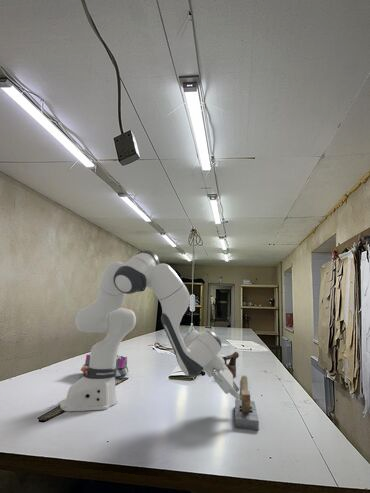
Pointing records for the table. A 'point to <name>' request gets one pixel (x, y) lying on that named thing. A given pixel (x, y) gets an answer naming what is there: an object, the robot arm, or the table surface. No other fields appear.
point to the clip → (245, 401)
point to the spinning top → (120, 364)
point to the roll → (244, 384)
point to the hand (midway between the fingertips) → (238, 394)
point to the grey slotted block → (246, 416)
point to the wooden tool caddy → (232, 363)
